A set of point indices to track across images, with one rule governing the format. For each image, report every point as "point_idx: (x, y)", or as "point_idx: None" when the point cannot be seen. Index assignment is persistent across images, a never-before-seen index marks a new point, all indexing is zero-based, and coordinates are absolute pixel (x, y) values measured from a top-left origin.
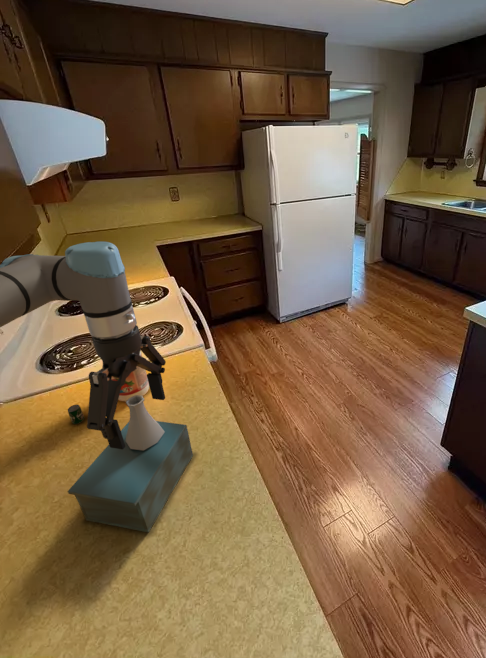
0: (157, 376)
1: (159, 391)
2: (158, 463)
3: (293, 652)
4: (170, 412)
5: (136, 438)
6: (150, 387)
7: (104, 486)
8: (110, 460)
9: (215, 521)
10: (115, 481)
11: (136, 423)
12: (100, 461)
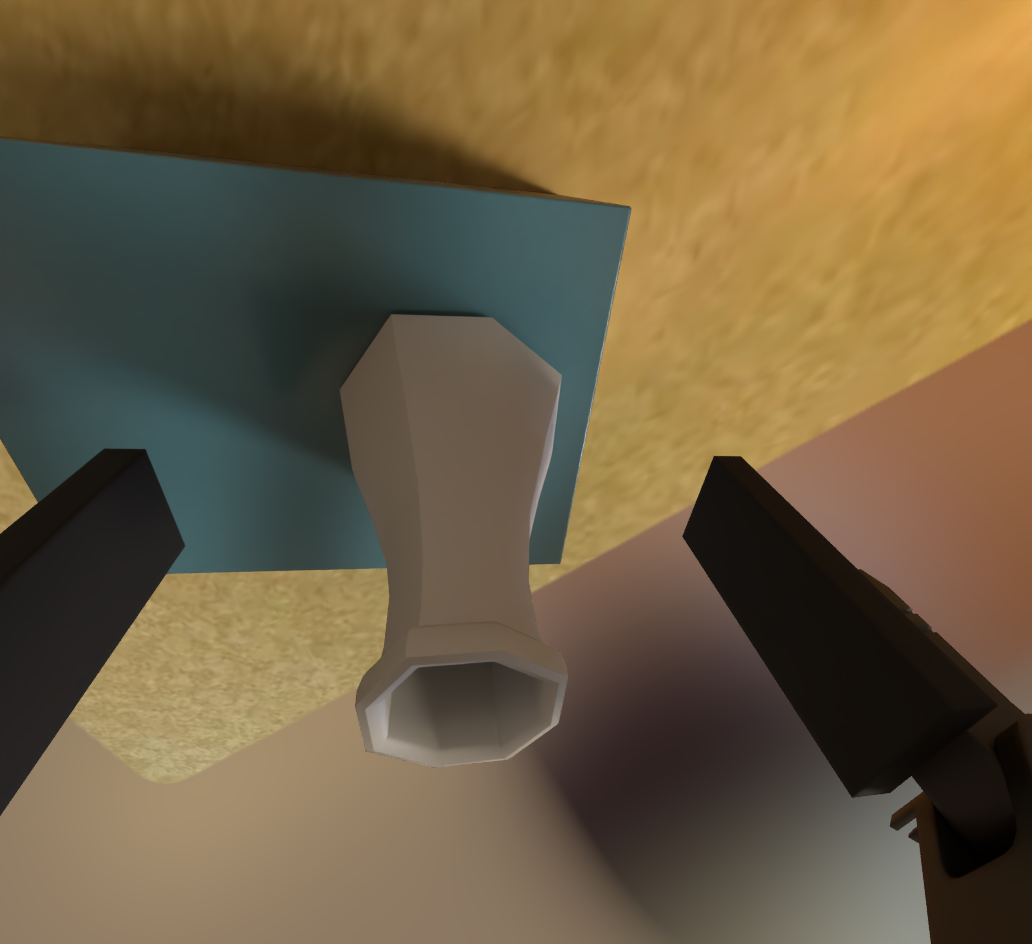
0: (853, 788)
1: (731, 588)
2: (308, 563)
3: (165, 745)
4: (794, 232)
5: (358, 469)
6: (789, 550)
7: (49, 389)
8: (216, 300)
9: (321, 591)
10: (113, 432)
11: (382, 543)
12: (176, 221)
